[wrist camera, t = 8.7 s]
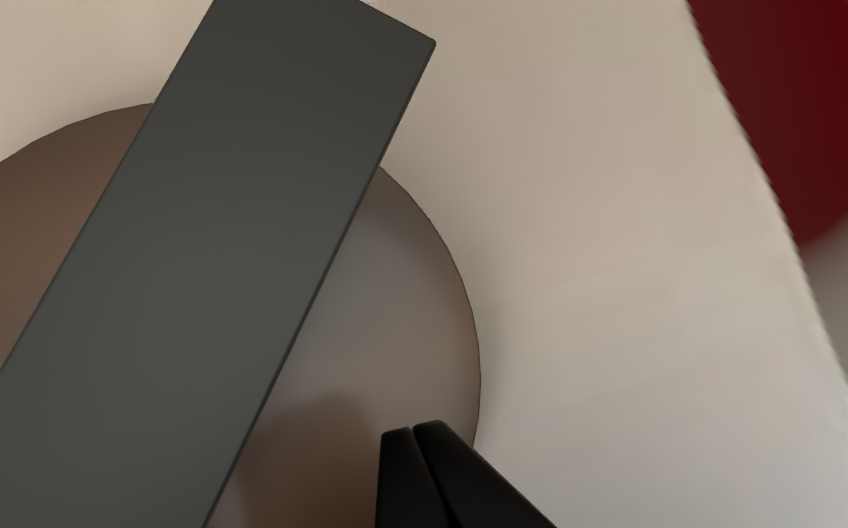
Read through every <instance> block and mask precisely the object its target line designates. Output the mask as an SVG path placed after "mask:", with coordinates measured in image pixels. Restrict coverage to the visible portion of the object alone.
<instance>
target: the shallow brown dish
mask: <svg viewBox="0 0 848 528" xmlns="http://www.w3.org/2000/svg"><path fill="white" fill-rule="evenodd" d="M153 104H154V103H150V104H142V105H137V106H133V107H128V108H123V109H118V110H113V111H108V112H105V113H102V114H99V115H96V116H93V117H90V118H87V119H84V120H81V121H78V122H75V123H72V124H69V125H67V126H65V127H63V128H61V129H59V130H56V131H54V132H52V133H50V134H48V135H46V136H44V137H42V138H40V139H37V140H35V141H33V142H32V143H30V144H28V145H27V146H25V147H24V148H22V149H21V150H19V151H17V152H16V153H14V154H13V155H11V156H10V157H8V158H6V159H5V160H3V161H2V162H0V368H1V366H2V364H3V363H4V361H5V359H6V358H7V356H8V354H9V352H10V351H11V349H12V347H13V345H14V344H15V342H16V340H17V339H18V337H19V335H20V333H21V332H22V330H23V328H24V326H25V325H26V323H27V321H28V320H29V318H30V316H31V314H32V313H33V311H34V309H35V307H36V306H37V304H38V302H39V301H40V299H41V297H42V295H43V294H44V292H45V290H46V288H47V287H48V285H49V283H50V282H51V280H52V278H53V276H54V275H55V273H56V271H57V269H58V268H59V266H60V264H61V263H62V261H63V259H64V257H65V256H66V254H67V252H68V250H69V249H70V247H71V245H72V244H73V242H74V240H75V238H76V237H77V235H78V233H79V231H80V230H81V228H82V226H83V225H84V223H85V221H86V219H87V218H88V216H89V214H90V213H91V211H92V209H93V207H94V206H95V204H96V202H97V200H98V199H99V197H100V195H101V194H102V192H103V190H104V188H105V187H106V185H107V183H108V181H109V180H110V178H111V176H112V175H113V173H114V171H115V169H116V168H117V166H118V164H119V162H120V161H121V159H122V157H123V156H124V154H125V152H126V150H127V149H128V147H129V145H130V143H131V142H132V140H133V138H134V137H135V135H136V133H137V131H138V130H139V128H140V126H141V124H142V123H143V121H144V119H145V118H146V116H147V114H148V112H149V111H150V109H151V107H152V105H153ZM480 390H481V372H480V355H479V344H478V338H477V333H476V328H475V322H474V317H473V312H472V309H471V305H470V302H469V299H468V296H467V293H466V290H465V287H464V284H463V280H462V278H461V276H460V274H459V271H458V269H457V267H456V265H455V263H454V261H453V258H452V256H451V254H450V252H449V250H448V248H447V246H446V245H445V243H444V241H443V240H442V238H441V237H440V235H439V233H438V232H437V230H436V229H435V227H434V225H433V224H432V222H431V221H430V219H429V218H428V217H427V215H426V214H425V213H424V212H423V211H422V209H421V208H420V207H419V206H418V204H417V203H416V202H415V201H414V200H413V198H412V197H411V196H410V195H409V193H408V192H407V191H406V190H405V189H404V188H402V187H401V186H400V185H399V184H398V183H397V182H396V181H395V180H394V179H393V178H392V177H391V176H390V175H389V174H388V173H387V172H386V171H385V170H384V169H382V168H381V167H380V166H379V167H378V169H377V171H376V173H375V175H374V177H373V179H372V181H371V184H370V186H369V188H368V190H367V192H366V194H365V196H364V198H363V200H362V202H361V205H360V207H359V209H358V211H357V213H356V215H355V217H354V219H353V221H352V223H351V226H350V228H349V230H348V232H347V234H346V236H345V238H344V240H343V242H342V244H341V246H340V249H339V251H338V253H337V255H336V257H335V259H334V261H333V263H332V265H331V267H330V270H329V272H328V274H327V276H326V278H325V280H324V282H323V284H322V286H321V288H320V291H319V293H318V295H317V297H316V299H315V301H314V303H313V305H312V307H311V309H310V312H309V314H308V316H307V318H306V320H305V322H304V324H303V326H302V328H301V330H300V333H299V335H298V337H297V339H296V341H295V343H294V345H293V347H292V349H291V351H290V353H289V356H288V358H287V360H286V362H285V364H284V366H283V368H282V370H281V372H280V374H279V377H278V379H277V381H276V383H275V385H274V387H273V389H272V391H271V393H270V395H269V398H268V400H267V402H266V404H265V406H264V408H263V410H262V412H261V414H260V416H259V419H258V421H257V423H256V425H255V427H254V429H253V431H252V433H251V435H250V437H249V440H248V442H247V444H246V446H245V448H244V450H243V452H242V454H241V456H240V458H239V460H238V463H237V465H236V467H235V469H234V471H233V473H232V475H231V477H230V479H229V481H228V484H227V486H226V488H225V490H224V492H223V494H222V496H221V498H220V500H219V502H218V505H217V507H216V509H215V511H214V513H213V515H212V517H211V519H210V521H209V523H208V526H207V528H374V523H375V509H376V496H377V482H378V468H379V454H380V441H381V435H382V434H383V433H384V432H386V431H390V430H394V429H399V428H403V427H409V428H411V429H412V428H413V426H414V425H416V424H420V423H424V422H428V421H433V420H442V421H444V422H445V423H446V424H447V425H449V426H450V427H451V428H452V429H453V430H454V431H455V432H456V433H457V434H458V435H459V436H460V437H461V438H462V439H463V440H465V441H466V442H467V443H468V444H469V445H470V446H471V447H472V448H473V445H474V440H475V434H476V429H477V424H478V418H479V406H480Z"/></svg>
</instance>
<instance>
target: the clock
mask: <svg viewBox="0 0 848 528" xmlns="http://www.w3.org/2000/svg"><path fill="white" fill-rule="evenodd" d="M435 47H436V41H435V40H434V39H432V38H430V37H428V36H426V35H424V34H422V33H421V32H419V31H417V30H415V29H413V28H411V27H409V26H407V25H405V24H403V23H402V22H400V21H398V20H396V19H394V18H392V17H390V16H388V15H386V14H385V13H383V12H381V11H379V10H377V9H375V8H373V7H371V6H369V5H367V4H366V3H364V2H362V1H360V0H213V2H212V4H211V5H210V7H209V9H208V11H207V12H206V14H205V16H204V17H203V19H202V21H201V23H200V24H199V26H198V28H197V30H196V31H195V33H194V35H193V36H192V38H191V40H190V42H189V43H188V45H187V47H186V48H185V50H184V52H183V54H182V55H181V57H180V59H179V61H178V62H177V64H176V66H175V67H174V69H173V71H172V73H171V74H170V76H169V78H168V80H167V81H166V83H165V85H164V86H163V88H162V90H161V92H160V93H159V95H158V97H157V99H156V100H155V102H154V104H153V105H152V107H151V109H150V111H149V112H148V114H147V116H146V118H145V119H144V121H143V123H142V124H141V126H140V128H139V130H138V131H137V133H136V135H135V137H134V138H133V140H132V142H131V143H130V145H129V147H128V149H127V150H126V152H125V154H124V156H123V157H122V159H121V161H120V162H119V164H118V166H117V168H116V169H115V171H114V173H113V175H112V176H111V178H110V180H109V181H108V183H107V185H106V187H105V188H104V190H103V192H102V194H101V195H100V197H99V199H98V200H97V202H96V204H95V206H94V207H93V209H92V211H91V213H90V214H89V216H88V218H87V219H86V221H85V223H84V225H83V226H82V228H81V230H80V231H79V233H78V235H77V237H76V238H75V240H74V242H73V244H72V245H71V247H70V249H69V250H68V252H67V254H66V256H65V257H64V259H63V261H62V263H61V264H60V266H59V268H58V269H57V271H56V273H55V275H54V276H53V278H52V280H51V282H50V283H49V285H48V287H47V288H46V290H45V292H44V294H43V295H42V297H41V299H40V301H39V302H38V304H37V306H36V307H35V309H34V311H33V313H32V314H31V316H30V318H29V320H28V321H27V323H26V325H25V326H24V328H23V330H22V332H21V333H20V335H19V337H18V339H17V340H16V342H15V344H14V345H13V347H12V349H11V351H10V352H9V354H8V356H7V358H6V359H5V361H4V363H3V364H2V366H1V368H0V528H207V526H208V523H209V521H210V519H211V517H212V515H213V513H214V511H215V509H216V507H217V505H218V502H219V500H220V498H221V496H222V494H223V492H224V490H225V488H226V486H227V484H228V481H229V479H230V477H231V475H232V473H233V471H234V469H235V467H236V465H237V463H238V460H239V458H240V456H241V454H242V452H243V450H244V448H245V446H246V444H247V442H248V440H249V437H250V435H251V433H252V431H253V429H254V427H255V425H256V423H257V421H258V419H259V416H260V414H261V412H262V410H263V408H264V406H265V404H266V402H267V400H268V398H269V395H270V393H271V391H272V389H273V387H274V385H275V383H276V381H277V379H278V377H279V374H280V372H281V370H282V368H283V366H284V364H285V362H286V360H287V358H288V356H289V353H290V351H291V349H292V347H293V345H294V343H295V341H296V339H297V337H298V335H299V333H300V330H301V328H302V326H303V324H304V322H305V320H306V318H307V316H308V314H309V312H310V309H311V307H312V305H313V303H314V301H315V299H316V297H317V295H318V293H319V291H320V288H321V286H322V284H323V282H324V280H325V278H326V276H327V274H328V272H329V270H330V267H331V265H332V263H333V261H334V259H335V257H336V255H337V253H338V251H339V249H340V246H341V244H342V242H343V240H344V238H345V236H346V234H347V232H348V230H349V228H350V226H351V223H352V221H353V219H354V217H355V215H356V213H357V211H358V209H359V207H360V205H361V202H362V200H363V198H364V196H365V194H366V192H367V190H368V188H369V186H370V184H371V181H372V179H373V177H374V175H375V173H376V171H377V169H378V167H379V165H380V163H381V160H382V158H383V156H384V154H385V152H386V150H387V148H388V146H389V144H390V142H391V139H392V137H393V135H394V133H395V131H396V129H397V127H398V125H399V123H400V121H401V119H402V116H403V114H404V112H405V110H406V108H407V106H408V104H409V102H410V100H411V98H412V95H413V93H414V91H415V89H416V87H417V85H418V83H419V81H420V79H421V77H422V74H423V72H424V70H425V68H426V66H427V64H428V62H429V60H430V58H431V56H432V53H433V51H434V49H435Z"/></svg>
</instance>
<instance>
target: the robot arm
mask: <svg viewBox="0 0 848 528" xmlns="http://www.w3.org/2000/svg"><path fill="white" fill-rule="evenodd" d="M374 528H557V527H556V526H555V525H554V524H553V523H552V522H551V521H550V520H549V519H548V518H547V517H546V516H544V515H543V514H542V513H541V512H540V511H539V510H538V509H537V508H536V507H535V506H534V505H533V504H532V503H531V502H530V501H528V500H527V499H526V498H525V497H524V496H523V495H522V494H521V493H520V492H519V491H518V490H517V489H516V488H515V487H514V486H512V485H511V484H510V483H509V482H508V481H507V480H506V479H505V478H504V477H503V476H502V475H501V474H500V473H499V472H498V471H497V470H495V469H494V468H493V467H492V466H491V465H490V464H489V463H488V462H487V461H486V460H485V459H484V458H483V457H482V456H481V455H479V454H478V453H477V452H476V451H475V450H474V449H473V448H472V447H471V446H470V445H469V444H468V443H467V442H466V441H465V440H463V439H462V438H461V437H460V436H459V435H458V434H457V433H456V432H455V431H454V430H453V429H452V428H451V427H450V426H449V425H447V424H446V423H445V422H444V421H442V420H433V421H428V422H424V423H420V424H416V425H414V426H413V428H412V429H411V428H409V427H403V428H399V429H394V430H390V431H386V432H384V433H383V434H382V435H381V441H380V454H379V468H378V482H377V496H376V509H375V523H374Z"/></svg>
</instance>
